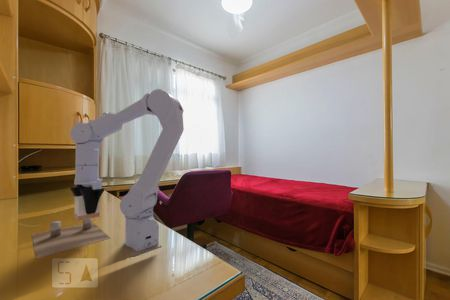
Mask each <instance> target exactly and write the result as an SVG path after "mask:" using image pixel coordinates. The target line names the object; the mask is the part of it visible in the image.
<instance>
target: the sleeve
mask: <svg viewBox="0 0 450 300" xmlns="http://www.w3.org/2000/svg"><path fill="white" fill-rule="evenodd" d="M73 217H74V218H75V219H76V220H77V222H80V221H83V220H86V219H91V218H92V219H95V218H100V201H99V202H98V206H97V209H96V212H95V213H92V214H86V211H85V203H84V199H83V196H74V213H73Z"/></svg>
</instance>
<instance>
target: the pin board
mask: <svg viewBox="0 0 450 300" xmlns="http://www.w3.org/2000/svg"><path fill="white" fill-rule="evenodd" d="M92 220H93V218H91V219H86V220H82V224H77V225H73V226H68V227H63V228H62V221H60V220H57V221H51V222H50V230H49V231H44V232H39V233H36V234H31V241H32V245H33V251H34V256H35V259H37V260H38V259H41V258H45V257H48V256H52V255H57V254H59V253H63V252H67V251H70V250H75V249H77V248H82V247H84V246H89V245H92V244H96V243H99V242H103V241H106V240H109V239H111V237H110V236H109V235H108V234H107V233H106V232H105V231H104V230H102V229H101V228H100V227H99V226H98V225H97V224H96V223H94V222H93V221H92Z"/></svg>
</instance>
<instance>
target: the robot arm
mask: <svg viewBox="0 0 450 300" xmlns="http://www.w3.org/2000/svg"><path fill="white" fill-rule="evenodd" d="M101 114H102V115H101V116H98V117H96V118H95V119H90V120H88V122H85V123H84V122H76V123H75V124H74V125H73V126H72V127H71V129H70V131H69V132H70V135H69V136H70V138H71V140H72V141H73V142H74V143H75V161H74V163H75V165H74V166H75V167H74V168H75V172H74V173H75V176H74V177H75V178H74V179H73V180H74V182H73V184H74V186H72V187H70V189H69V190H70V191H71V193H72V194H73V196H74V197H75V196H83V199H84V203H85V211H86V214H92V213H95V212H96V209H97V206H98V202H99V203H100V199H101V196H102V195H103V193H104V191H105V188H103V187H102V186H103V181H104V179H103V178H99V177H100V148H101V144H102V142H103V141H104V138H107V137H109V136H111V135H113V134H115V133H117V132H119V131H121V130H122V128H123V125H125V124H126V123H129V122H132V121H133V120H136V119H138V118H141V117H143V116H145V115H149V116H150V115H151V116H156V117H157V119H158V121H159V123H160V126H161V129H162V130H161V132H160V134H159V136H158V138H157V140H156V142H155V145H154V147H153V149H152V151H151V153H150V156H149V158H148V160H147V162H146V164H145V166H144V168H143V170H142V173H141V174H140V176H139V178H138V179H137V181H136V182H135V183H134V184H132V186H131V187H130V189H129V190H128V192H127V194H125V195H124V196H123V197H122V198H121V200H120V202H119V208H120V211H121V213H122V215H124V218H125V235H124V236H125V237H124V238H125V243H124V244H125V246H126V247H128V248H132V250H133V249H134V251H135V252H139V251H142V250H146V249H149V250H146V251H143V252H140V253H137V254H134V255H132V256H131V257H132V258H136V257H138V256H142V255H143V254H147V253H149V252H152V251H154V250H157V249H160V248H162V245H159V243H160V241H159V240H160V239H159V235H160V234H159V232H160V231H159V229H160V225H159V222H157V220H156V219H155V218H154V207H155V206H156V204H157V201H158V193H159V191H160V187H159V183H160V181H161V179H162V177H163V176H164V175H163V174H164V173H165V171H166V169H167V167H168V165H169V162H170V160H171V158H172V156H173V154H174V152H175V149H176V147H177V145H178V143H179V141H180V139H181V136H182V135H183V133H184V129H185V128H184V117H183V116H184V115H183V114H184V108H183V107H182V104H181V103H180V101H179V100H178V99H176V98H175V97H173V96H172V95H171V94H169V93H168V91H166V90H164V89H163V88H157V89H154V90H152V91H151V92H148V93H145V94H144V95H143V96H142V98H140V99H139V100H137V101H136V102H133V103H132V104H130V105H129V106H127V107H125V108H123V109H121V110H120V111H118V112H116V113H114V112H107V111H105V112H102V113H101ZM157 245H159V246H157ZM154 246H156V247H154ZM151 247H153V248H151ZM150 248H151V249H150Z"/></svg>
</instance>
